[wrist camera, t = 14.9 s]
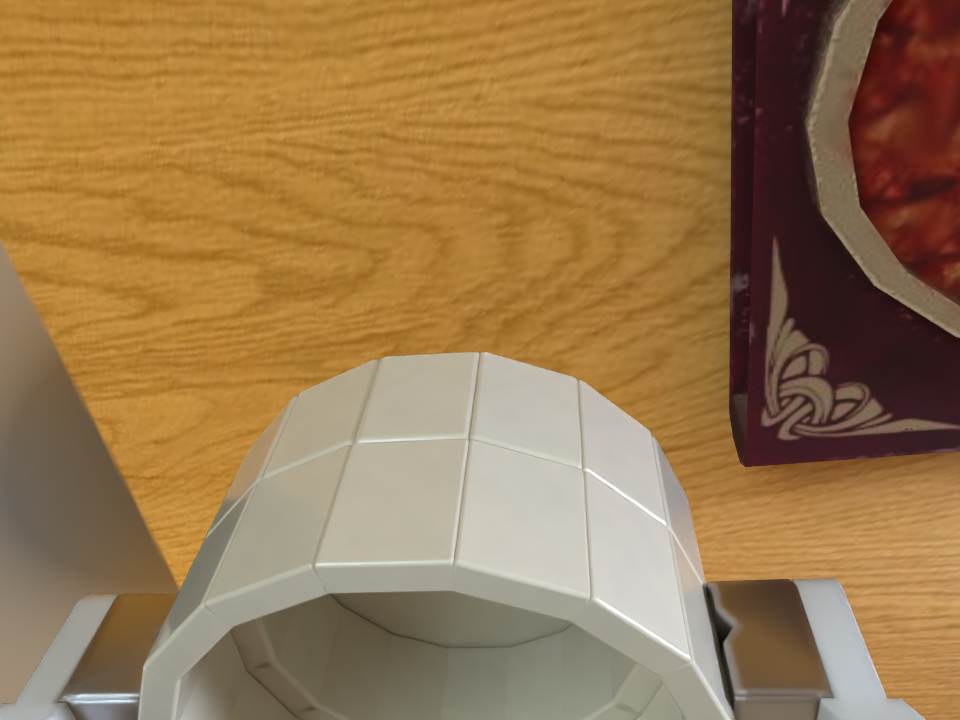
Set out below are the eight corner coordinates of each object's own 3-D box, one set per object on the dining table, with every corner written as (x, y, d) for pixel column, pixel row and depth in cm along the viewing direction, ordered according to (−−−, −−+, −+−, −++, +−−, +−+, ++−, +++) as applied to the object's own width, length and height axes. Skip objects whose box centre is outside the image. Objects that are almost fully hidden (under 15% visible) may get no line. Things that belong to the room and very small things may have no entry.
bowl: (304, 654, 14) (229, 907, 11) (197, 343, 11) (41, 572, 7) (677, 650, 14) (720, 919, 10) (688, 314, 10) (760, 554, 7)
